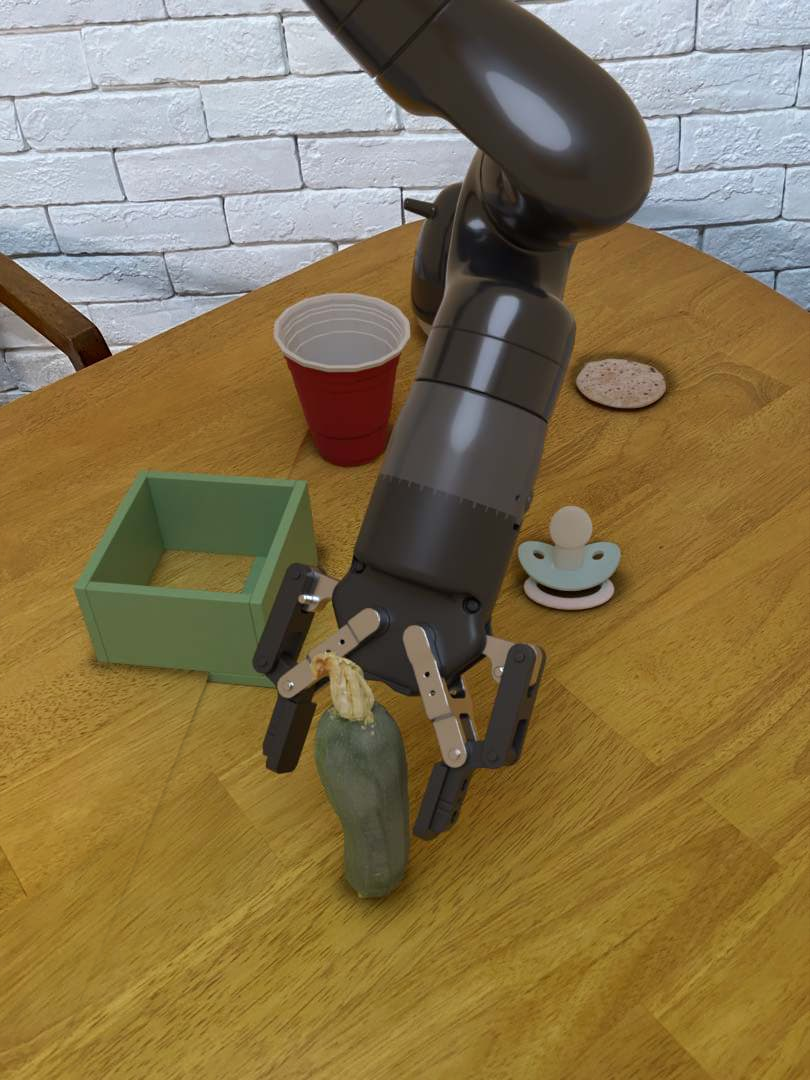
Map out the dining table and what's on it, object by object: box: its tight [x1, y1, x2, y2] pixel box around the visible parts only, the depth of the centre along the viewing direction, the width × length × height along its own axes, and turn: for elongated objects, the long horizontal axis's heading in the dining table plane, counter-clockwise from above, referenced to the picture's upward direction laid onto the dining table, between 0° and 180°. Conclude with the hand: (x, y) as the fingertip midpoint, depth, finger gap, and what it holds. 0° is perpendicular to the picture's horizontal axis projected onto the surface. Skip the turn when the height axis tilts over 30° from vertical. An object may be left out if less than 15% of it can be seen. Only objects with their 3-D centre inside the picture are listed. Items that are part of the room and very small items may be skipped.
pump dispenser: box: [402, 181, 464, 337], centre depth 104 cm, size 10×10×15 cm
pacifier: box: [517, 505, 622, 611], centre depth 80 cm, size 7×6×6 cm
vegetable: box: [309, 652, 411, 899], centre depth 57 cm, size 4×4×20 cm
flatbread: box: [575, 358, 667, 409], centre depth 100 cm, size 8×8×1 cm
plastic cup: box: [273, 292, 411, 468], centre depth 92 cm, size 11×11×12 cm
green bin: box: [73, 469, 319, 689], centre depth 79 cm, size 13×13×8 cm
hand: (350, 803), depth 56 cm, fingers open, 8 cm apart
